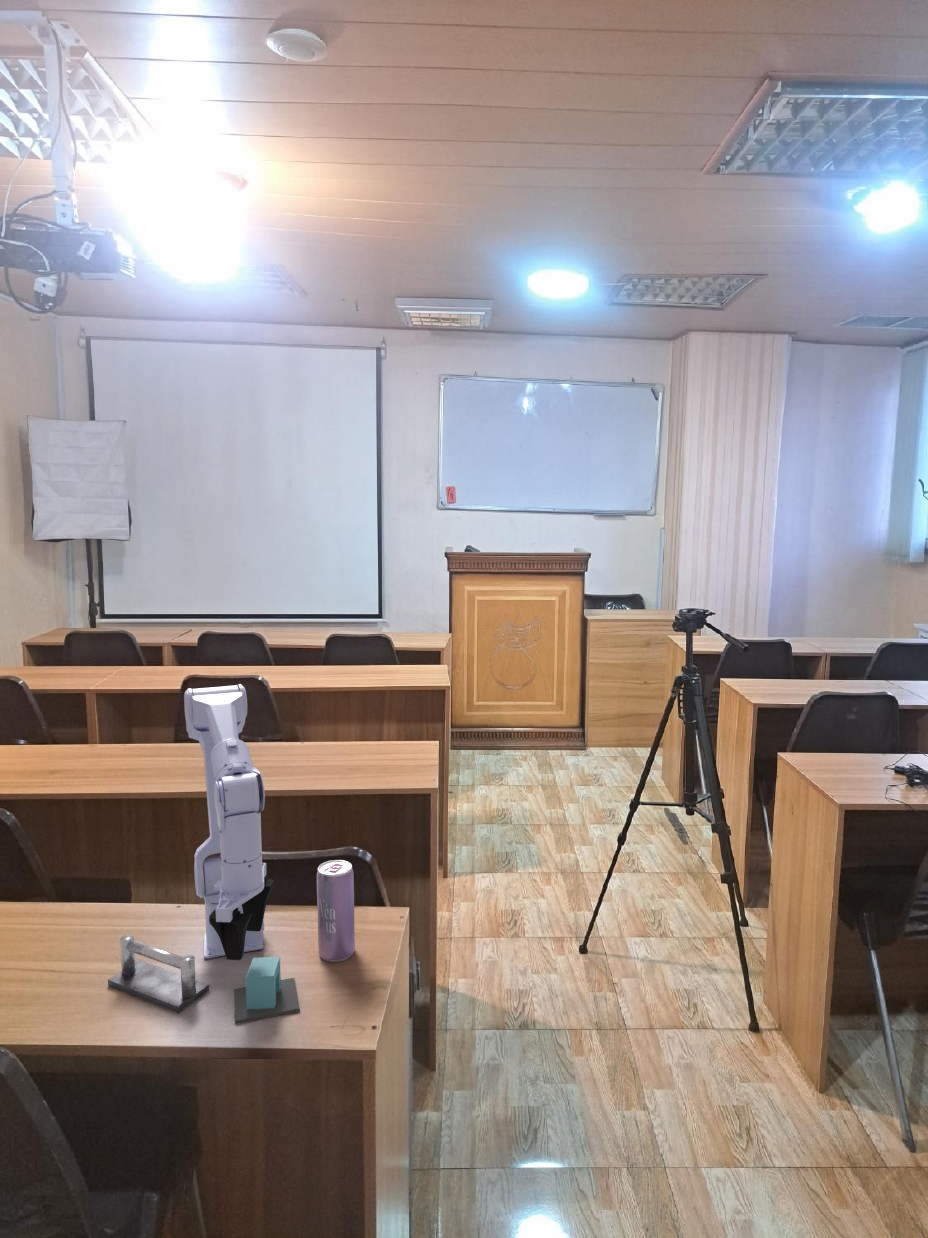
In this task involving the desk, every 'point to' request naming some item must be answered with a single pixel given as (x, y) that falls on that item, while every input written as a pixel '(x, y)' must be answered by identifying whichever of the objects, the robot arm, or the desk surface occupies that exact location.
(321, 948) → the beverage can
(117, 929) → the desk surface
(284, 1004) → the mat
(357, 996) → the desk surface
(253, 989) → the teal block
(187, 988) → the stand
